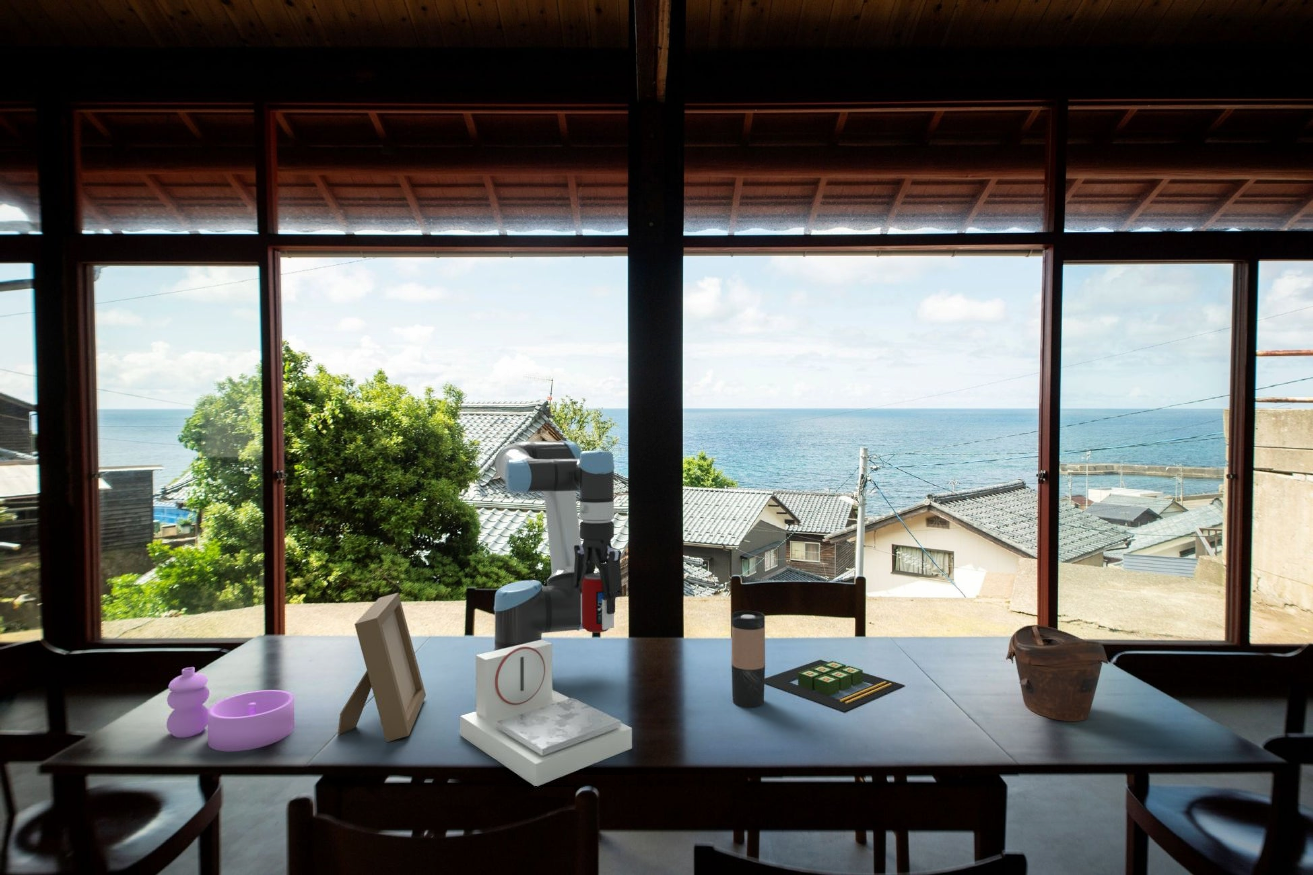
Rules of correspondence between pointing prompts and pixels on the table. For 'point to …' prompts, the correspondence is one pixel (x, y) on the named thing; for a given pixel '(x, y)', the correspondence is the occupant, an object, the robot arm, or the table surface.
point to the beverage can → (592, 603)
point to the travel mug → (748, 658)
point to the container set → (229, 714)
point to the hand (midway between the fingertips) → (597, 624)
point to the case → (1056, 671)
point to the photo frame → (386, 671)
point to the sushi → (831, 684)
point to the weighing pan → (557, 725)
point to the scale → (520, 687)
